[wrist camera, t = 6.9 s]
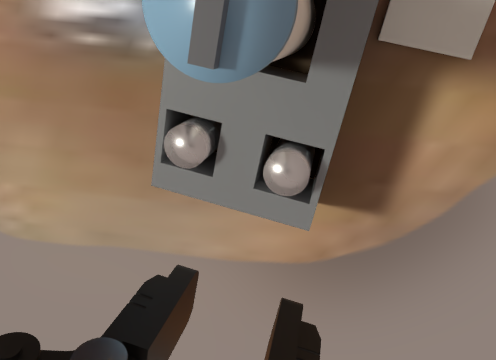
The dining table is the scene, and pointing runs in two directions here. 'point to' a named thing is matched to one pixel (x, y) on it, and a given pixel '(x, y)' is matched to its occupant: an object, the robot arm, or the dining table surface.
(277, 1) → the tumbler with domed lid
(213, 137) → the plunger
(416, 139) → the dining table surface
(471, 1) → the coaster
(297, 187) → the plunger
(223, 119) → the housing
